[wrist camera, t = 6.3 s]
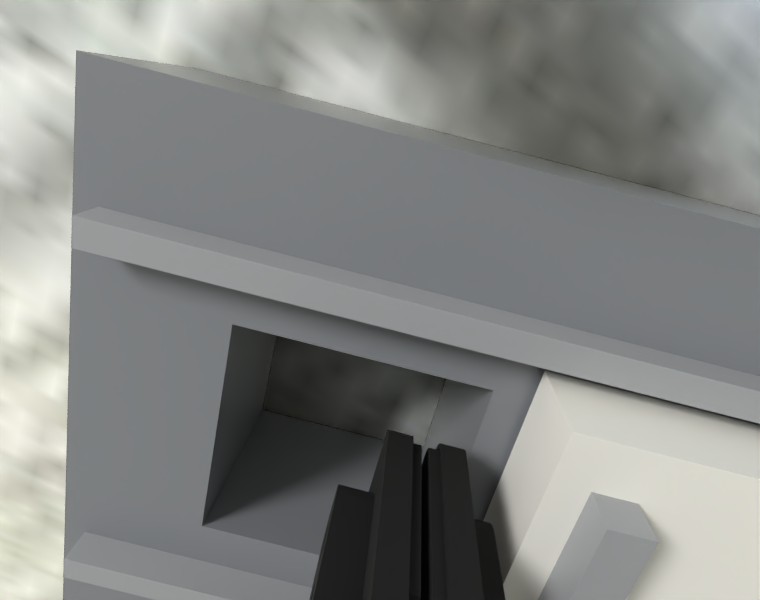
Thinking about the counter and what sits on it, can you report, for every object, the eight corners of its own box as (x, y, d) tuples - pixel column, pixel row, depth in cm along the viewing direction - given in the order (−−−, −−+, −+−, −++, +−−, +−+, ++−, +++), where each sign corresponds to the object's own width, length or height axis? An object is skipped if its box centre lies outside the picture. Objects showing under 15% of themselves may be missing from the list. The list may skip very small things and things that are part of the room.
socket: (899, 251, 14) (1207, 349, 8) (667, 615, 19) (766, 822, 13) (196, 68, 13) (43, 45, 8) (153, 486, 19) (42, 645, 13)
